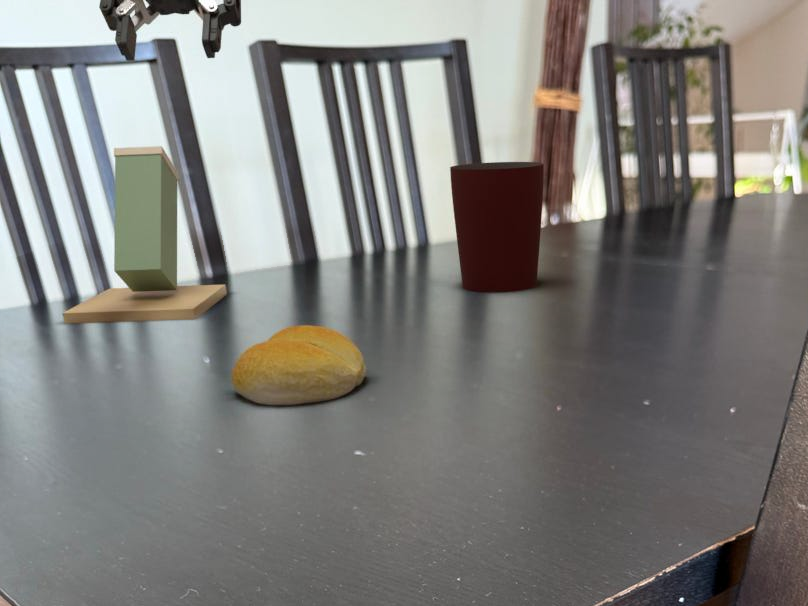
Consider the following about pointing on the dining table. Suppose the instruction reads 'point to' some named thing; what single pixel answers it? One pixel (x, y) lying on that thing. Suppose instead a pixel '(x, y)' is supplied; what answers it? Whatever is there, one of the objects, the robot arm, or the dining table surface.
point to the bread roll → (299, 367)
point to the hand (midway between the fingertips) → (167, 52)
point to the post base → (146, 305)
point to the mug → (498, 224)
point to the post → (145, 219)
